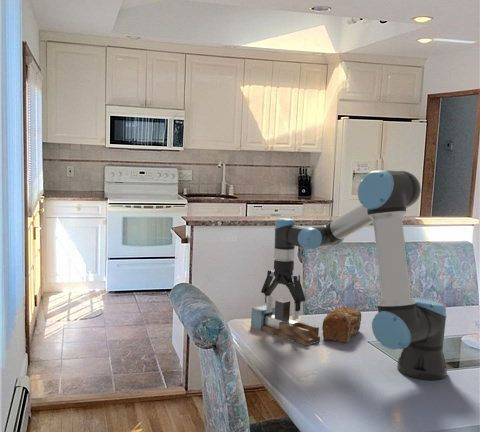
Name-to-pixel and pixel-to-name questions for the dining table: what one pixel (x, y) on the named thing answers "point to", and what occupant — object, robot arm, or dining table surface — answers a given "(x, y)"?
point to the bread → (341, 324)
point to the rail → (295, 332)
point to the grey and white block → (279, 315)
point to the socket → (259, 316)
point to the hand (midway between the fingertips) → (281, 315)
